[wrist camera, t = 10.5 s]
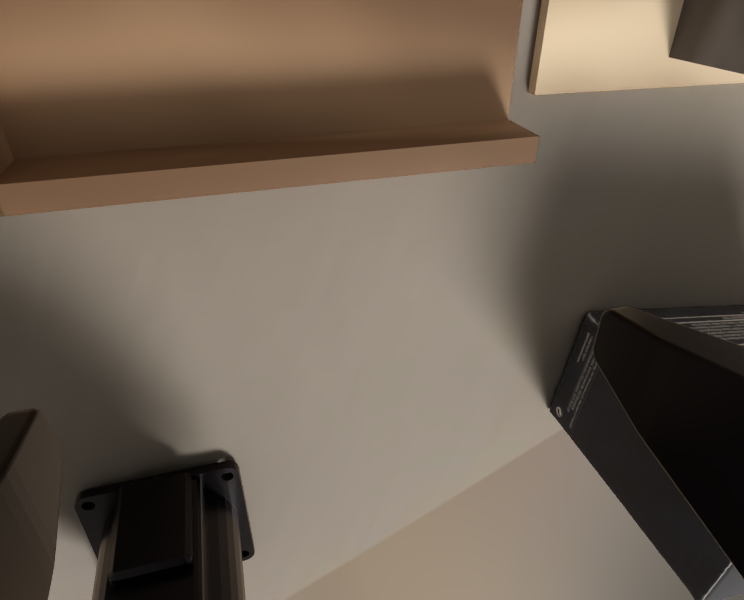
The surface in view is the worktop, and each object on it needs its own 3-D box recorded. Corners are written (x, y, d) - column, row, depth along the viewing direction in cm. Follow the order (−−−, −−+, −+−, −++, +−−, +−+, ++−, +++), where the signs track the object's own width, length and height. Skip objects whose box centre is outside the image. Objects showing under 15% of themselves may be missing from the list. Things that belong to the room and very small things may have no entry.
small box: (541, 416, 28) (693, 617, 20) (582, 308, 25) (784, 493, 17) (703, 399, 32) (894, 567, 23) (758, 301, 28) (1004, 453, 20)
